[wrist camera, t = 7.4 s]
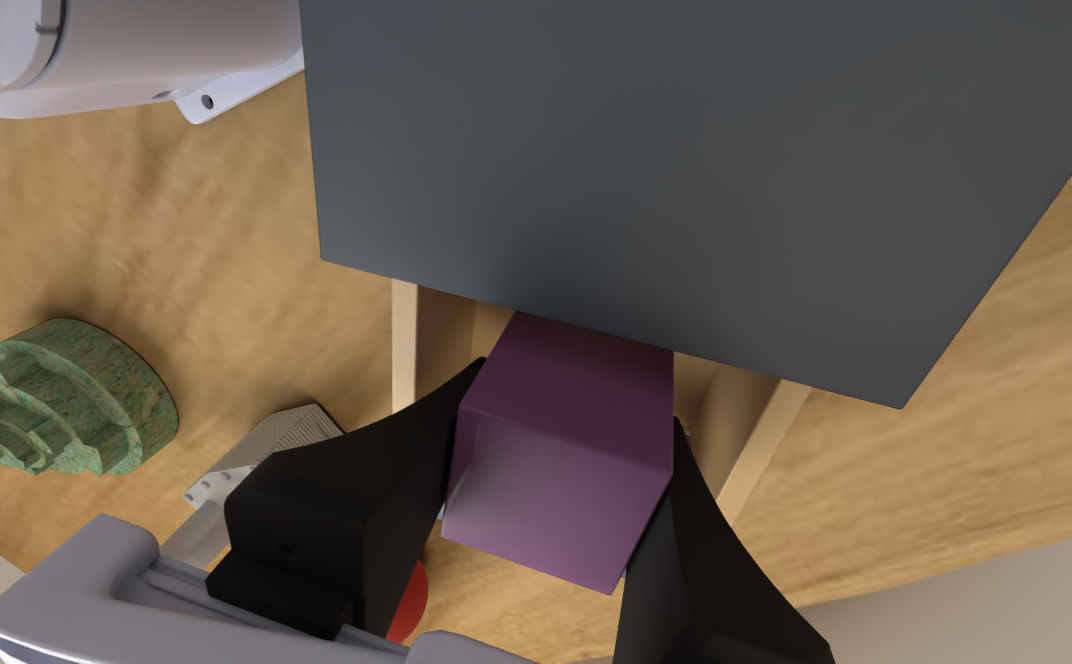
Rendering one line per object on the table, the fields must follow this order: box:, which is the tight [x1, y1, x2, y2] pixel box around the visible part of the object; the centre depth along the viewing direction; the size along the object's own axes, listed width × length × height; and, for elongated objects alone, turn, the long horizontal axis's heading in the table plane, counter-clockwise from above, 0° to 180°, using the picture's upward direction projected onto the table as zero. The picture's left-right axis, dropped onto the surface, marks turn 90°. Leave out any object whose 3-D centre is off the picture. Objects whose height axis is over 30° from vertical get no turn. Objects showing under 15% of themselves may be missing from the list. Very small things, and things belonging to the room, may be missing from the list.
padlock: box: [160, 404, 343, 570], centre depth 26 cm, size 7×4×10 cm, turn 123°
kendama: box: [385, 560, 428, 645], centre depth 34 cm, size 8×6×18 cm
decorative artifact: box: [0, 318, 178, 477], centre depth 29 cm, size 10×7×10 cm
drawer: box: [392, 278, 813, 578], centre depth 17 cm, size 19×12×7 cm, turn 172°
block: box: [440, 310, 674, 595], centre depth 14 cm, size 5×5×5 cm
